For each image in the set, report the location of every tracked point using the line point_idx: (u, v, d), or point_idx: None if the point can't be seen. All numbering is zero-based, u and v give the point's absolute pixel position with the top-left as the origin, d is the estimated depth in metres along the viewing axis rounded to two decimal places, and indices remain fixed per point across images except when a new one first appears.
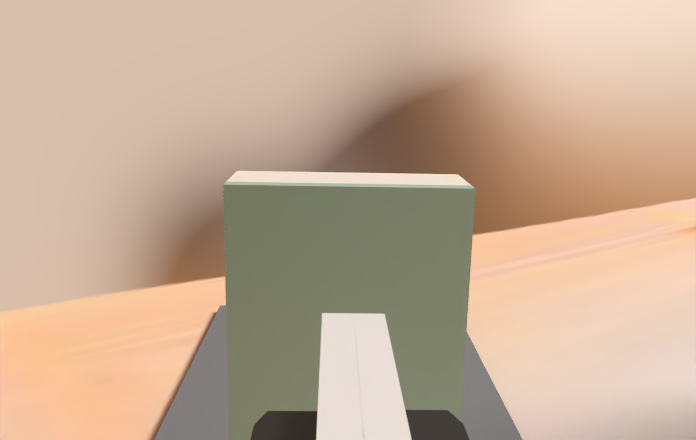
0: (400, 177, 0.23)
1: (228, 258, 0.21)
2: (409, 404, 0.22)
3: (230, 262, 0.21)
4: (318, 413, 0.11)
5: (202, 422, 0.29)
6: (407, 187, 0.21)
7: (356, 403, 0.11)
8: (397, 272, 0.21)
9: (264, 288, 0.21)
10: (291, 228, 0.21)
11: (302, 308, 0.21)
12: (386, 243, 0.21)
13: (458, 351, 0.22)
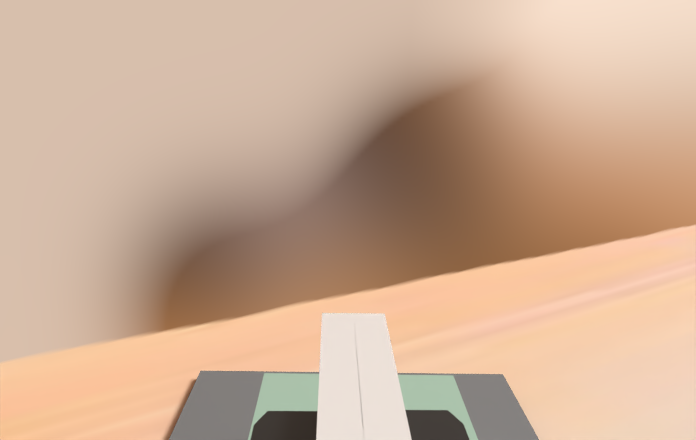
0: None
1: (259, 401, 0.25)
2: None
3: (261, 403, 0.25)
4: (318, 413, 0.11)
5: None
6: None
7: (356, 403, 0.11)
8: None
9: None
10: (313, 389, 0.26)
11: None
12: None
13: None
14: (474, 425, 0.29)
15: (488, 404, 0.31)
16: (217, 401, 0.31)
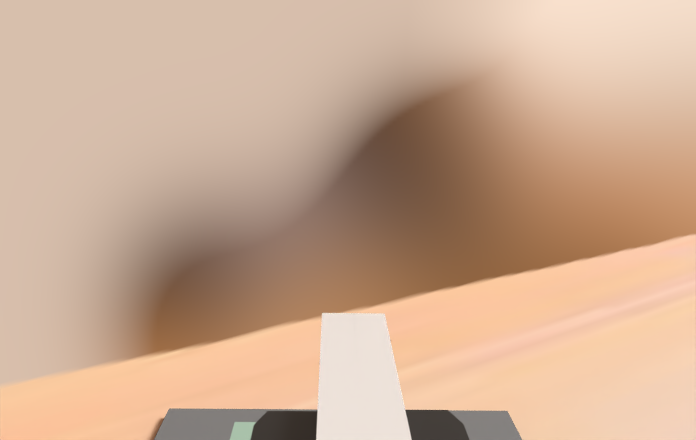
0: None
1: None
2: None
3: None
4: (318, 413, 0.11)
5: None
6: None
7: (356, 403, 0.11)
8: None
9: None
10: None
11: None
12: None
13: None
14: None
15: None
16: None
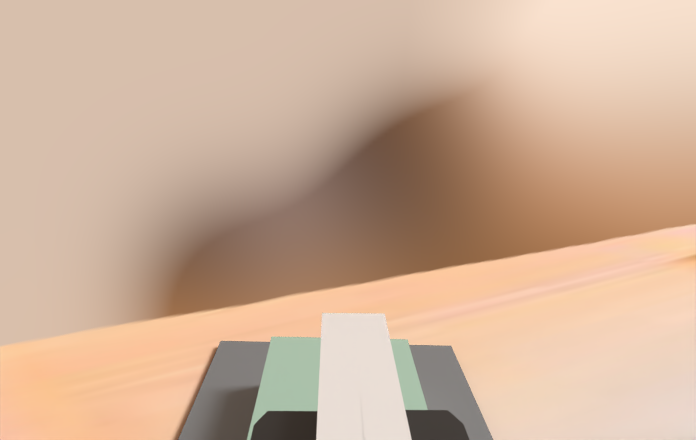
0: None
1: (269, 353, 0.35)
2: None
3: (270, 354, 0.35)
4: (318, 413, 0.11)
5: None
6: None
7: (356, 403, 0.11)
8: None
9: (289, 361, 0.35)
10: (307, 346, 0.37)
11: (312, 367, 0.34)
12: None
13: (415, 382, 0.33)
14: (424, 378, 0.40)
15: (436, 365, 0.42)
16: (235, 361, 0.41)
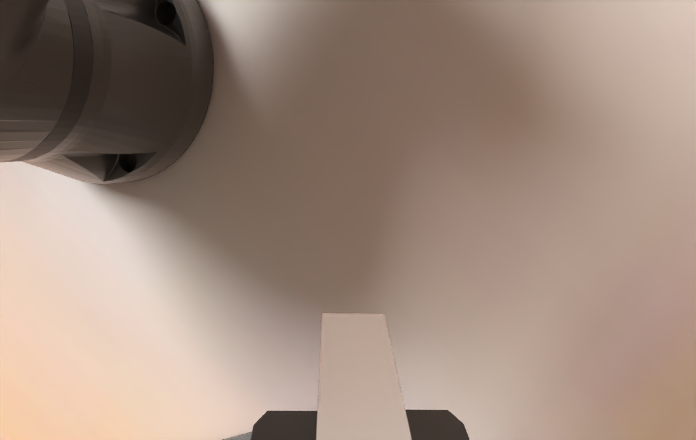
0: None
1: None
2: None
3: None
4: (318, 413, 0.11)
5: None
6: None
7: (356, 403, 0.11)
8: None
9: None
10: None
11: None
12: None
13: None
14: None
15: None
16: None
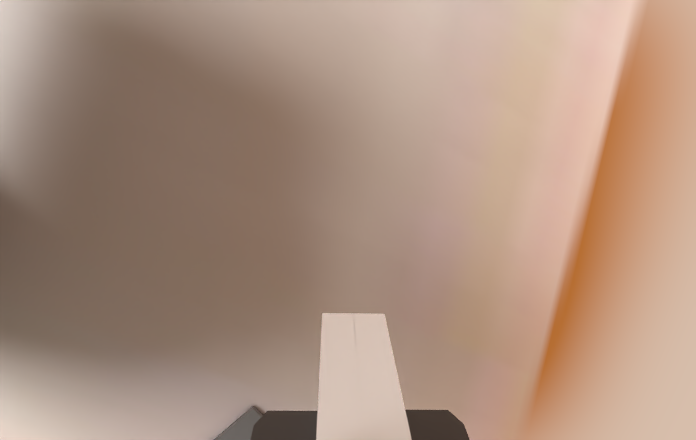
0: None
1: None
2: None
3: None
4: (318, 413, 0.11)
5: None
6: None
7: (356, 403, 0.11)
8: None
9: None
10: None
11: None
12: None
13: None
14: None
15: None
16: None
